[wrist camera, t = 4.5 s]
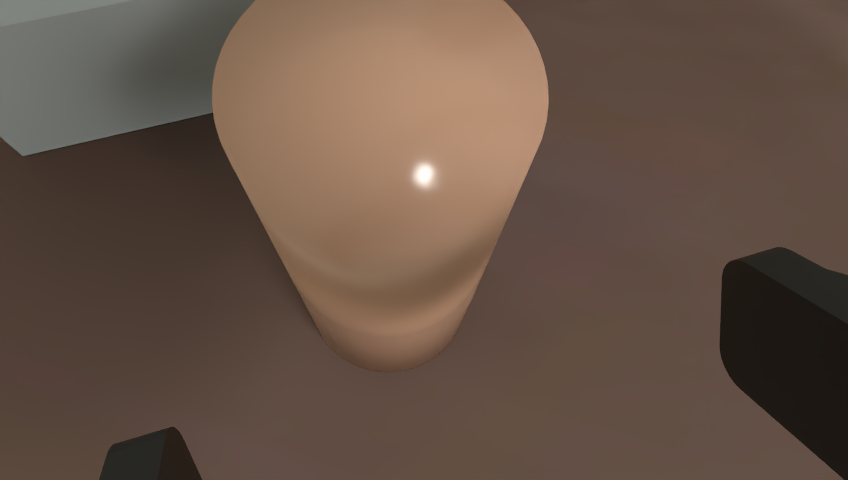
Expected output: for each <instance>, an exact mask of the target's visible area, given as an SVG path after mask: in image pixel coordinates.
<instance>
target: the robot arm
mask: <svg viewBox="0 0 848 480" xmlns="http://www.w3.org/2000/svg"><path fill="white" fill-rule="evenodd" d="M720 353H721V358H722V361H723V364H724V366H725V368H726V371H727V372H728V374H729V376H730V377H731V379H732V380H733V382H734V383H735V384H736V385H737V386H738V387H739V388H740V389H741V390H742V391H743V392H744V393H745V394H747V395H748V396H749V397H750V398H751V399H752V400H754V401H755V402H756V403H757V404H758V405H759V406H760V407H762V408H763V409H764V410H765V411H766V412H767V413H768V414H770V415H771V416H772V417H773V418H774V419H775V420H776V421H778V422H779V423H780V424H781V425H782V426H783V427H785V428H786V429H787V430H788V431H789V432H790V433H791V434H793V435H794V436H795V437H796V438H797V439H798V440H799V441H801V442H802V443H803V444H804V445H805V446H806V447H807V448H809V449H810V450H811V451H812V452H813V453H814V454H816V455H817V456H818V457H819V458H820V459H821V460H822V461H824V462H825V463H826V464H827V465H828V466H829V467H830V468H832V469H833V470H834V471H835V472H836V473H837V474H838V475H840V476H841V477H842V478H843V479H844V480H848V275H845V274H842V273H838V272H835V271H831V270H827V269H825V268H823V267H821V266H819V265H817V264H815V263H814V262H812V261H810V260H808V259H806V258H804V257H802V256H800V255H798V254H797V253H795V252H793V251H791V250H789V249H786V248H782V247H776V248H773V249H770V250H766V251H763V252H760V253H756V254H753V255H750V256H746V257H743V258H739V259H736V260H733V261H730V262H729V263H728V264H727V265H726V266H725V268H724V270H723V274H722V293H721V323H720ZM99 480H202V478H201V476H200V474H199V472H198V470H197V468H196V465H195V463H194V461H193V459H192V457H191V454H190V452H189V450H188V448H187V446H186V443H185V441H184V439H183V437H182V435H181V434H180V432H179V431H178V430H177V429H176V428H175V427H170V428H166V429H163V430H160V431H156V432H153V433H150V434H146V435H143V436H140V437H136V438H133V439H130V440H126V441H123V442H120V443H116V444H113V445H112V446H111V447H110V449H109V451H108V453H107V456H106V459H105V463H104V466H103V469H102V473H101V476H100V479H99Z"/></svg>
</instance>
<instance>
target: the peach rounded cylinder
mask: <svg viewBox="0 0 848 480" xmlns="http://www.w3.org/2000/svg"><path fill="white" fill-rule="evenodd" d="M548 103H549V100H548V82H547V77H546V72H545V67H544V64H543V61H542V58H541V55H540V52H539V49H538V47H537V45H536V43H535V41H534V39H533V38H532V36H531V34H530V32H529V30H528V29H527V28H526V26H525V25H524V23H523V22H522V20H521V19H520V18H519V16H518V15H517V14H516V13H515V12H514V11H513V10H512V9H511V8H510V7H509V5H508V4H507V3H506V2H505V1H503V0H256V1H255V2H254V3H253V4H252V5H251V6H250V7H249V8H248V9H247V10H246V11H245V12H244V13H243V14H242V16H241V17H240V18H239V20H238V21H237V23H236V24H235V25H234V27H233V28H232V30H231V31H230V33H229V35H228V37H227V39H226V41H225V43H224V45H223V47H222V49H221V52H220V55H219V58H218V61H217V64H216V67H215V73H214V79H213V84H212V107H213V115H214V122H215V126H216V129H217V132H218V136H219V139H220V142H221V144H222V146H223V148H224V151H225V153H226V155H227V157H228V159H229V161H230V163H231V165H232V167H233V169H234V170H235V172H236V174H237V176H238V178H239V180H240V182H241V184H242V186H243V188H244V190H245V191H246V193H247V195H248V197H249V199H250V201H251V203H252V205H253V207H254V209H255V210H256V212H257V214H258V216H259V218H260V220H261V222H262V224H263V226H264V228H265V230H266V231H267V233H268V235H269V237H270V239H271V241H272V243H273V245H274V247H275V249H276V251H277V252H278V254H279V256H280V258H281V260H282V262H283V264H284V266H285V268H286V270H287V272H288V273H289V275H290V277H291V279H292V281H293V283H294V285H295V287H296V289H297V291H298V293H299V294H300V296H301V298H302V300H303V302H304V304H305V306H306V308H307V310H308V312H309V313H310V315H311V317H312V319H313V321H314V323H315V325H316V327H317V329H318V331H319V333H320V334H321V336H322V337H323V339H324V340H325V342H326V343H327V344H328V345H329V346H330V347H331V349H332V350H333V351H335V352H336V353H337V354H338V355H339V356H340V357H342V358H343V359H345V360H347V361H348V362H350V363H352V364H354V365H356V366H358V367H361V368H365V369H368V370H373V371H378V372H396V371H403V370H408V369H412V368H414V367H417V366H420V365H422V364H424V363H426V362H428V361H429V360H431V359H432V358H434V357H435V356H437V355H438V354H439V353H440V352H441V351H442V350H444V349H445V348H446V347H447V345H448V344H449V343H450V342H451V340H452V339H453V338H454V336H455V334H456V333H457V331H458V329H459V327H460V325H461V322H462V320H463V318H464V316H465V313H466V311H467V309H468V306H469V304H470V302H471V300H472V297H473V295H474V293H475V290H476V288H477V286H478V284H479V281H480V279H481V277H482V275H483V272H484V270H485V268H486V265H487V263H488V261H489V259H490V256H491V254H492V252H493V249H494V247H495V245H496V243H497V240H498V238H499V236H500V233H501V231H502V229H503V227H504V224H505V222H506V220H507V217H508V215H509V213H510V211H511V208H512V206H513V204H514V201H515V199H516V197H517V195H518V192H519V190H520V188H521V185H522V183H523V181H524V179H525V176H526V174H527V172H528V169H529V167H530V165H531V163H532V160H533V158H534V156H535V153H536V151H537V149H538V147H539V144H540V142H541V140H542V136H543V132H544V129H545V125H546V121H547V113H548Z"/></svg>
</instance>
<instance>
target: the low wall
mask: <svg viewBox="0 0 848 480" xmlns="http://www.w3.org/2000/svg"><path fill="white" fill-rule="evenodd" d="M255 1H256V0H0V137H1V138H2V139H3V140H5V141H6V142H7V143H8V144H9V145H10V146H12V147H13V148H14V149H15V150H16V151H17V152H19V153H20V154H21V155H22V156H26V155H30V154H34V153H39V152H43V151H47V150H52V149H56V148H61V147H65V146H69V145H74V144H78V143H82V142H87V141H91V140H96V139H100V138H104V137H109V136H113V135H118V134H122V133H126V132H131V131H135V130H139V129H144V128H148V127H153V126H157V125H161V124H166V123H170V122H174V121H179V120H183V119H188V118H192V117H196V116H201V115H205V114H209V113H213V107H212V84H213V79H214V73H215V67H216V64H217V61H218V58H219V55H220V52H221V49H222V47H223V45H224V43H225V41H226V39H227V37H228V35H229V33H230V31H231V30H232V28H233V27H234V25H235V24H236V23H237V21H238V20H239V18H240V17H241V16H242V14H243V13H244V12H245V11H246V10H247V9H248V8H249V7H250V6H251V5H252V4H253V3H254V2H255Z"/></svg>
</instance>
